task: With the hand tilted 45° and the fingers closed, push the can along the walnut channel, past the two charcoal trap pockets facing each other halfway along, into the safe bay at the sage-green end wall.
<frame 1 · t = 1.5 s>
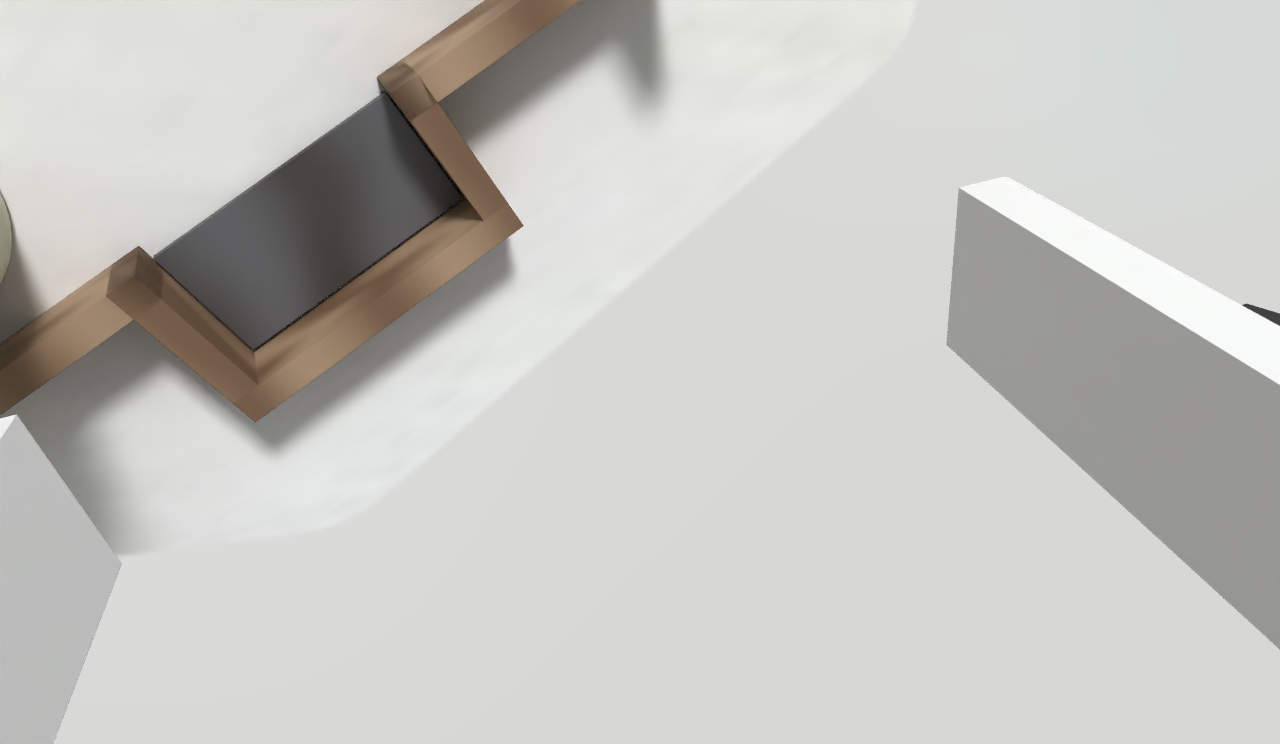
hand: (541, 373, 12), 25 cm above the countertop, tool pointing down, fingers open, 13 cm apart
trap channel: (130, 17, 28), on the countertop
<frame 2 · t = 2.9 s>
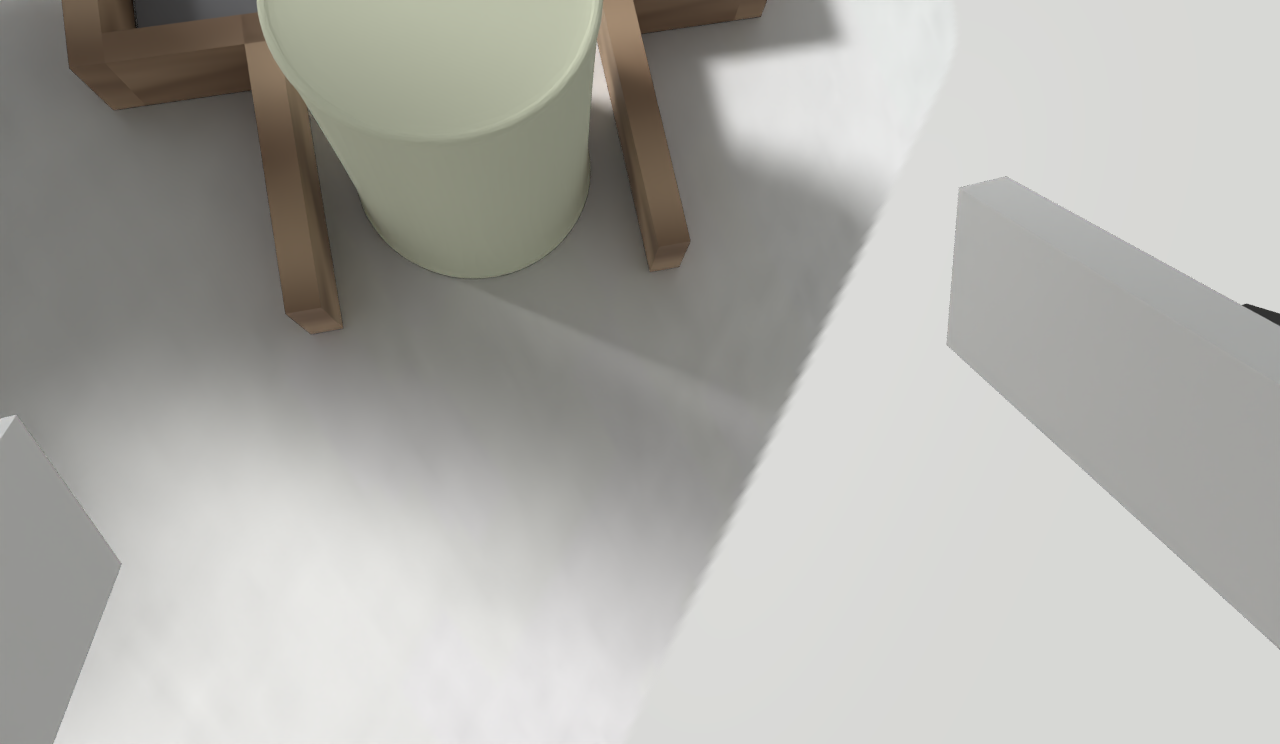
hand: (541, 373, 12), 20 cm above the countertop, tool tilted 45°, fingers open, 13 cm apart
can: (475, 171, 34), on the countertop
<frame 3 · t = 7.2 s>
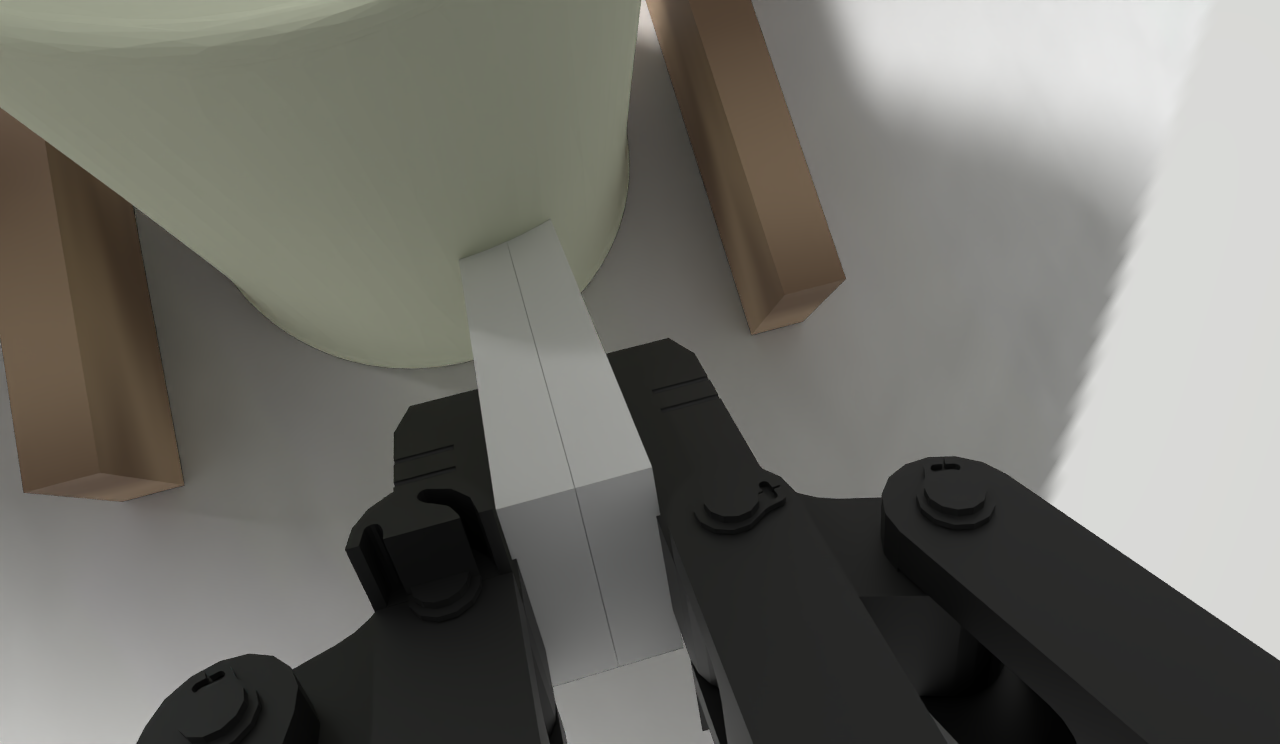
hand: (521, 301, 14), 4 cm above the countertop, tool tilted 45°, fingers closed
can: (421, 169, 19), on the countertop, touching gripper
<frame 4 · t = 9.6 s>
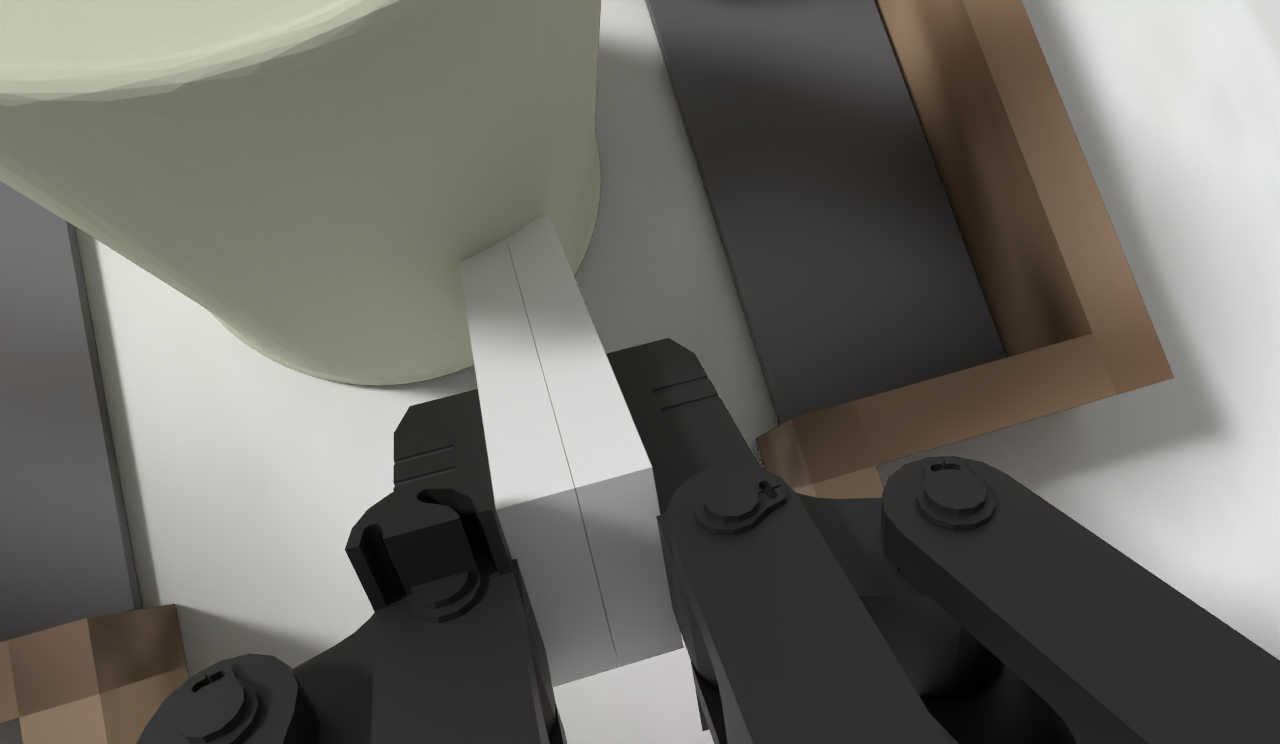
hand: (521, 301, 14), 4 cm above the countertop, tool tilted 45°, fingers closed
can: (391, 183, 18), on the countertop, touching gripper
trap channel: (415, 267, 18), on the countertop
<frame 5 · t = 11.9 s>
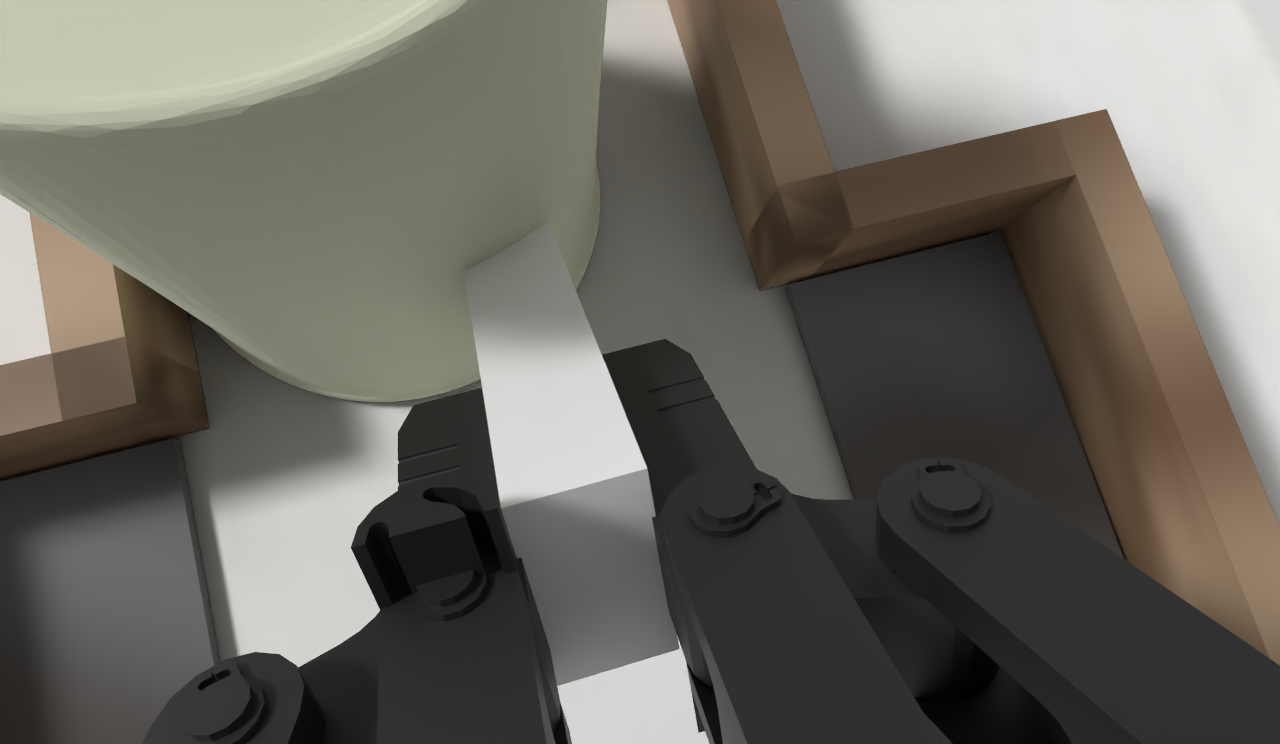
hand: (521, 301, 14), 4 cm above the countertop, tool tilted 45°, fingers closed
can: (393, 201, 19), on the countertop, touching gripper, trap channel
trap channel: (562, 611, 17), on the countertop
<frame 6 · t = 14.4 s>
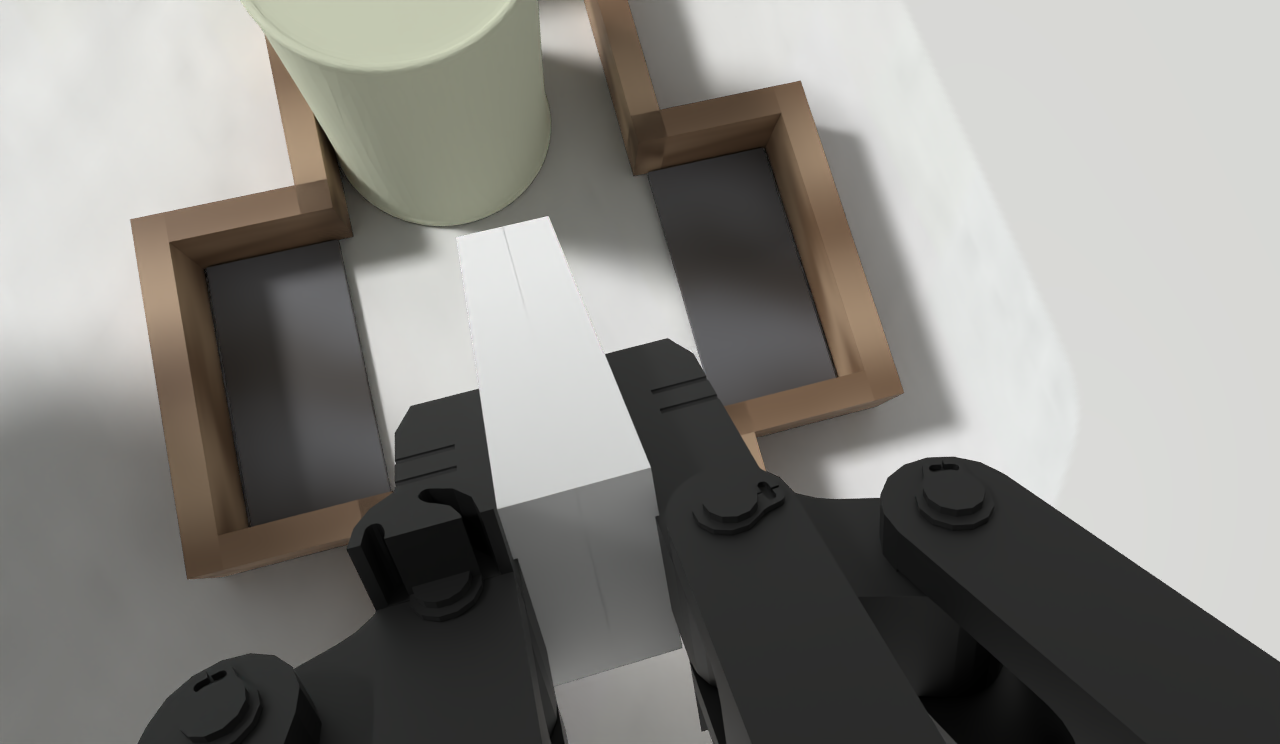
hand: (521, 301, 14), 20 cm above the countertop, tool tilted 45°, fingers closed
can: (444, 128, 36), on the countertop
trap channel: (526, 328, 34), on the countertop
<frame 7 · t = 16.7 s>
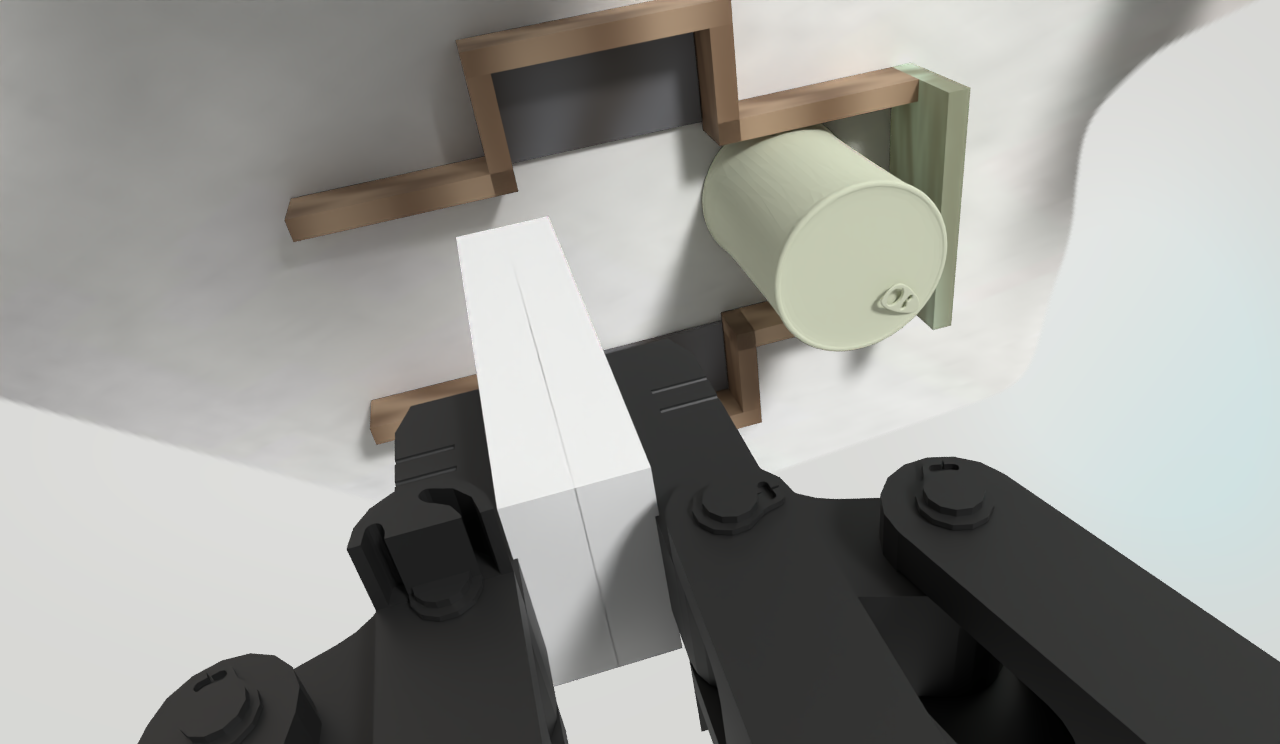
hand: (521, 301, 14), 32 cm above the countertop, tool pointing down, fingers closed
can: (773, 189, 50), on the countertop
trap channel: (624, 248, 50), on the countertop
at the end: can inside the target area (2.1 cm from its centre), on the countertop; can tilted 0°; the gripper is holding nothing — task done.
